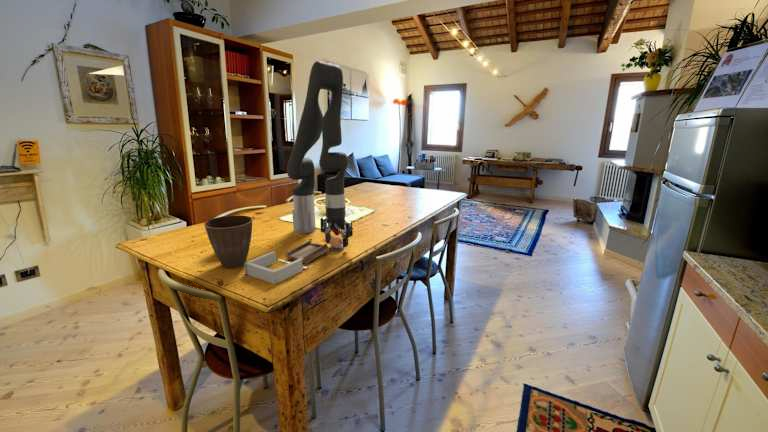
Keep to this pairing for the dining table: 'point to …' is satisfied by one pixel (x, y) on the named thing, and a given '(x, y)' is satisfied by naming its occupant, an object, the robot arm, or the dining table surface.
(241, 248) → the plant pot
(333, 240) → the rubber ball
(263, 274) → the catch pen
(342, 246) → the coaster
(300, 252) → the walnut ramp
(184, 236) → the dining table surface
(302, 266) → the painted line
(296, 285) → the dining table surface
